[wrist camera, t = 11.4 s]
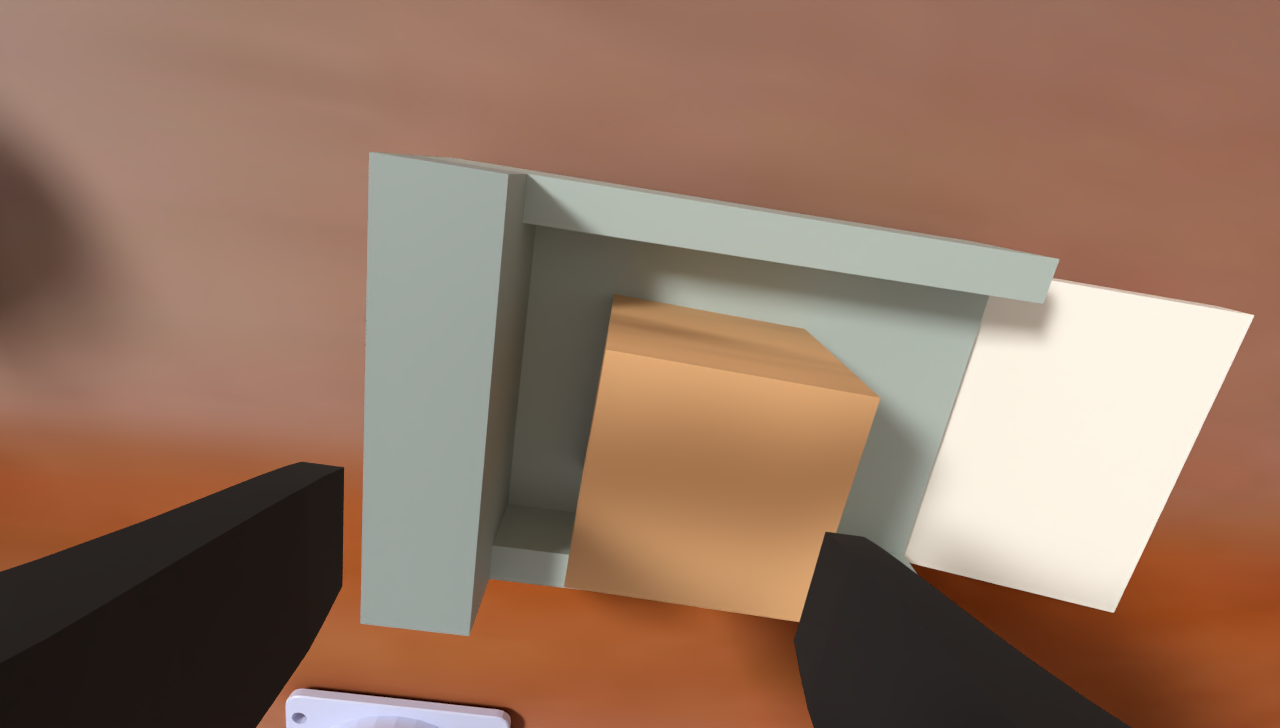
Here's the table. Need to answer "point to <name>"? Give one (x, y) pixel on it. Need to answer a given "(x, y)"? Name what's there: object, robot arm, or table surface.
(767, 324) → the block
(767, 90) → the table surface
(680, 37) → the table surface
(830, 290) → the bed
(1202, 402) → the panel
